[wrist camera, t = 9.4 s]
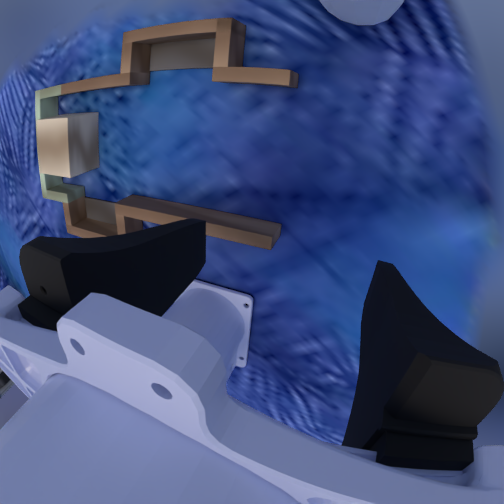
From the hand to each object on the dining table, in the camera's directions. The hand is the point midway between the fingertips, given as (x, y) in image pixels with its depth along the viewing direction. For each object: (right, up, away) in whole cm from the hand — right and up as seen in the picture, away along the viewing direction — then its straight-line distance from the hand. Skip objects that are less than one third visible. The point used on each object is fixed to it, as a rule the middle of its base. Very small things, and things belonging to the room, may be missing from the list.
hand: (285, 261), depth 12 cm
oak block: (-18, +12, +14) cm, 26 cm away
